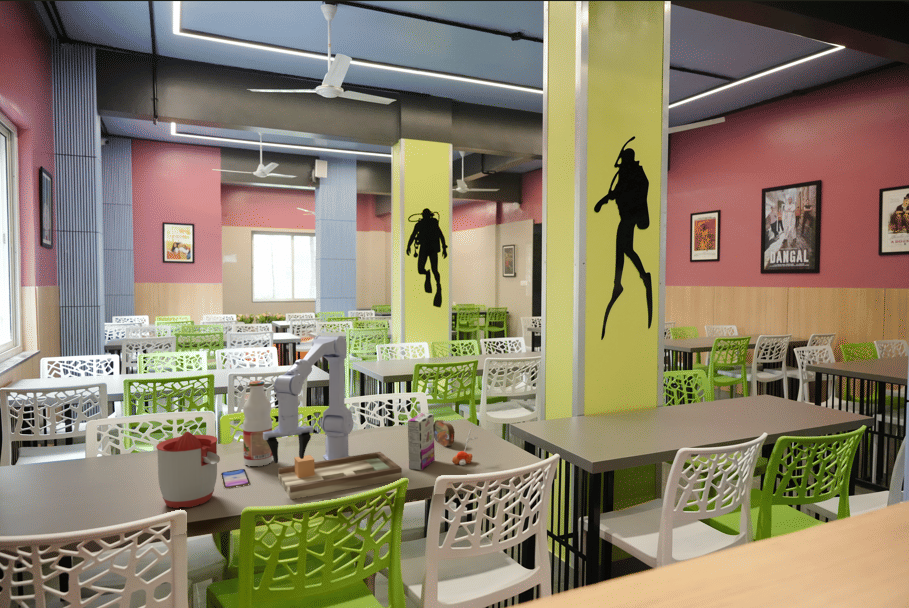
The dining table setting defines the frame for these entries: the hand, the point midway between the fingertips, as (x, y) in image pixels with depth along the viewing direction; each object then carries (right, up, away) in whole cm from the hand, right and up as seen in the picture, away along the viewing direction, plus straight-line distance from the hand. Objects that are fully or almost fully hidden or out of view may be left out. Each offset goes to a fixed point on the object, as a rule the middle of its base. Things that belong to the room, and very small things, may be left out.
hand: (288, 460), depth 166 cm
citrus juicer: (-25, -9, -9) cm, 28 cm away
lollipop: (+53, -8, +23) cm, 59 cm away
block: (+3, -6, +7) cm, 10 cm away
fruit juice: (-18, -8, +24) cm, 31 cm away
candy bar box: (+39, -8, +21) cm, 45 cm away
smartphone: (-20, -9, +8) cm, 23 cm away
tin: (+46, -7, +46) cm, 65 cm away
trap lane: (+14, -8, +8) cm, 18 cm away
